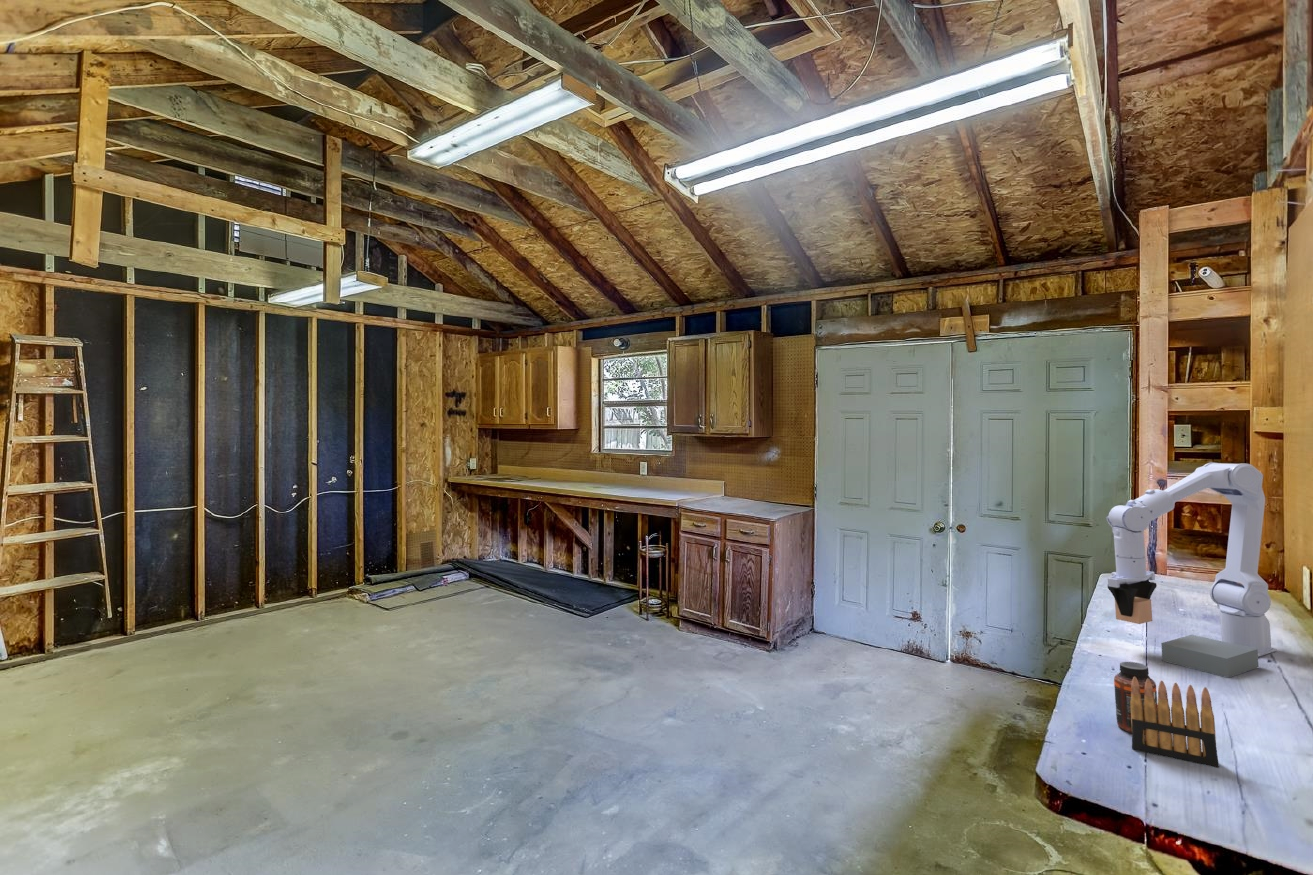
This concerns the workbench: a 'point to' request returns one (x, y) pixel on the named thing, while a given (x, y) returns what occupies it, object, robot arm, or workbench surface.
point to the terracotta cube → (1137, 611)
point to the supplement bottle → (1124, 691)
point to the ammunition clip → (1173, 725)
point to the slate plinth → (1210, 655)
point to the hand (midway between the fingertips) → (1133, 613)
